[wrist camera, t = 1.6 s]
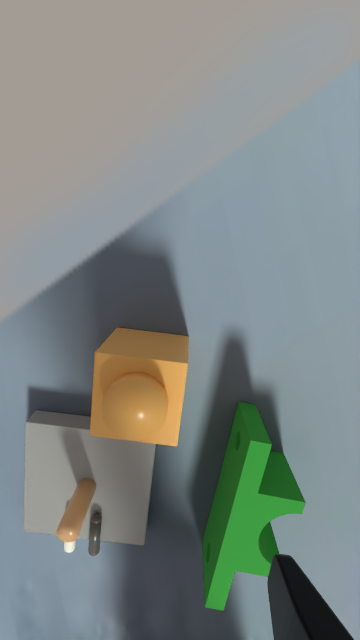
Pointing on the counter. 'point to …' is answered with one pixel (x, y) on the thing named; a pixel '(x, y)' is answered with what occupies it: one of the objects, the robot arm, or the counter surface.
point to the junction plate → (85, 482)
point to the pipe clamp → (246, 507)
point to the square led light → (139, 386)
